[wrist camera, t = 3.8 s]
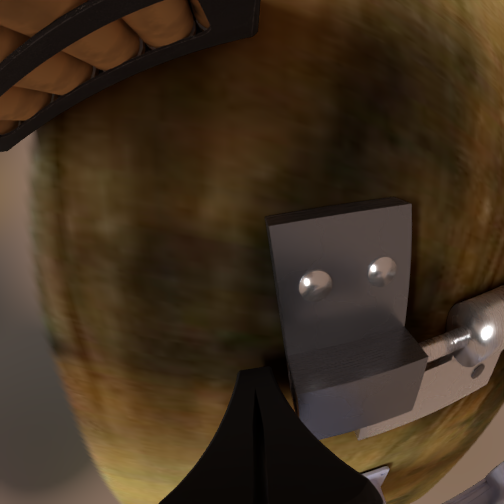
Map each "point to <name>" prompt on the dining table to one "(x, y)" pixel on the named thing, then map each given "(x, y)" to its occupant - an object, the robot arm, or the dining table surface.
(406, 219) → the loose leaf
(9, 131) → the ammunition clip
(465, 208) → the dining table surface
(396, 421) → the fixed leaf
